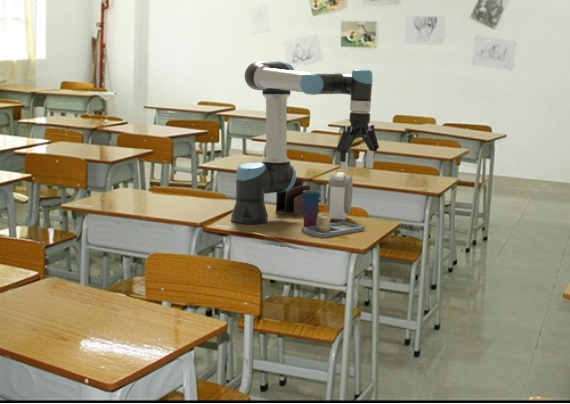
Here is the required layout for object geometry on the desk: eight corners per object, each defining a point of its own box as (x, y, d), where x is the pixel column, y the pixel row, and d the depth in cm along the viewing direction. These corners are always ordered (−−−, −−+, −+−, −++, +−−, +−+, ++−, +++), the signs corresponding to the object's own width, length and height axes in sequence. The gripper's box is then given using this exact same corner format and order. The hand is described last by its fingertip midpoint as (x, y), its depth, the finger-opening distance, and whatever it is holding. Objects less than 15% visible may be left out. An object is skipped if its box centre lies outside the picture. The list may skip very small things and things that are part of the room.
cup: (317, 231, 315) (318, 193, 312) (300, 229, 316) (301, 192, 313) (319, 227, 321) (321, 190, 318) (303, 226, 322) (304, 189, 320)
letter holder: (275, 213, 347) (276, 181, 344) (299, 206, 363) (301, 175, 360) (294, 216, 341) (295, 183, 339) (318, 209, 358) (320, 178, 355)
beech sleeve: (313, 232, 308) (314, 217, 307) (323, 230, 311) (323, 215, 310) (322, 234, 304) (323, 219, 303) (332, 233, 308) (332, 218, 307)
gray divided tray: (301, 234, 309) (301, 227, 308) (342, 227, 323) (343, 221, 323) (322, 240, 300) (322, 233, 300) (363, 232, 315) (363, 226, 314)
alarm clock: (332, 215, 345) (334, 169, 341) (351, 216, 344) (353, 170, 340) (325, 224, 328) (327, 175, 324) (346, 225, 326) (348, 176, 322)
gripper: (343, 114, 283) (340, 173, 288) (390, 112, 299) (386, 168, 304) (328, 112, 289) (325, 170, 293) (375, 110, 305) (372, 165, 309)
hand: (356, 169), depth 298 cm, fingers open, 13 cm apart
